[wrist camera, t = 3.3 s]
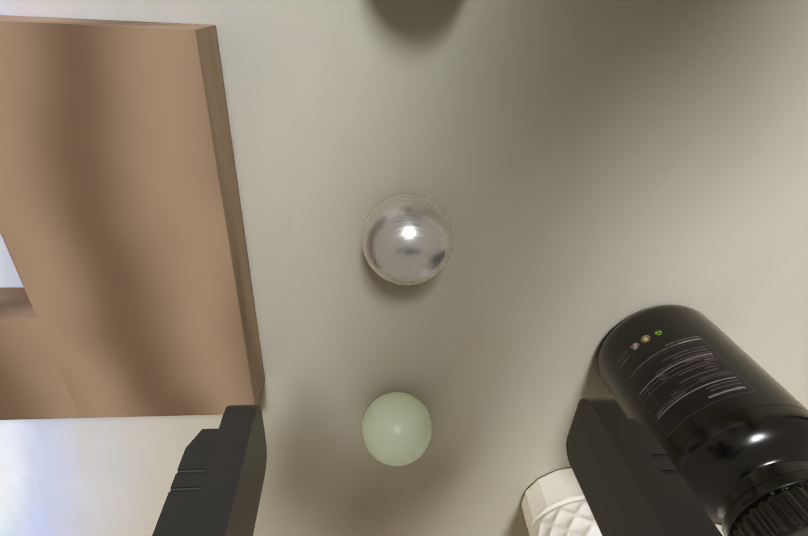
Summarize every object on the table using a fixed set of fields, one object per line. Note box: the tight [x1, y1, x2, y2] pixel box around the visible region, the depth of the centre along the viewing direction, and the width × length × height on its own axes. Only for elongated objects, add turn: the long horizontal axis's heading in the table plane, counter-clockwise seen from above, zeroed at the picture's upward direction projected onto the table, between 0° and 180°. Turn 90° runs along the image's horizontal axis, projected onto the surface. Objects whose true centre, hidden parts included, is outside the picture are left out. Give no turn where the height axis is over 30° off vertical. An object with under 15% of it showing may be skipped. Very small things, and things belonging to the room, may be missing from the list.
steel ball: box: [361, 194, 453, 285], centre depth 21 cm, size 4×4×4 cm
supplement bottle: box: [598, 305, 808, 536], centre depth 23 cm, size 7×7×12 cm
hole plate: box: [0, 15, 265, 420], centre depth 20 cm, size 19×18×2 cm
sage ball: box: [361, 392, 432, 466], centre depth 27 cm, size 4×4×4 cm
